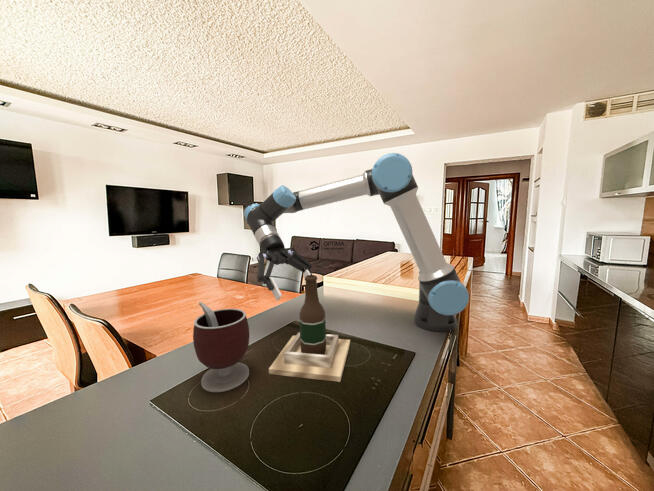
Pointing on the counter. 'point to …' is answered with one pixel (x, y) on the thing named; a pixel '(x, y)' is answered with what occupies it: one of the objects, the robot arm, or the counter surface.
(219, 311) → the mate gourd
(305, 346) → the beer bottle
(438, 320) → the robot arm
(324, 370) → the bottle holder
